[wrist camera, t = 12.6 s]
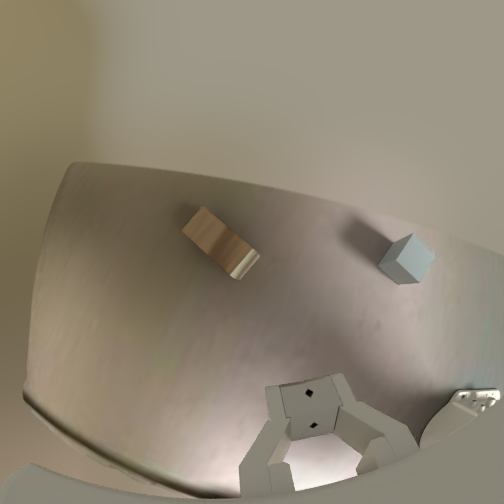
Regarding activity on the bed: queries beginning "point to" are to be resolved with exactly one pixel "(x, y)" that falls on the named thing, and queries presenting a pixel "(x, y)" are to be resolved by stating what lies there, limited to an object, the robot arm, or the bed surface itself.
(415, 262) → the bluegrey block
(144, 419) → the bed surface
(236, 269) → the walnut block
